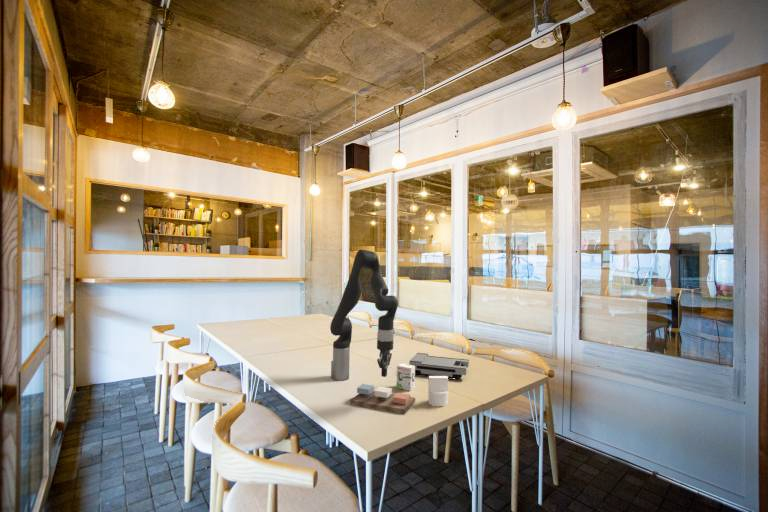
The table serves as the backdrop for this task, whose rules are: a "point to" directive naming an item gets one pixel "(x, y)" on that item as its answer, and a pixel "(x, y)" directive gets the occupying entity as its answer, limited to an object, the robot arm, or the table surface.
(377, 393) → the off-white key
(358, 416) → the table surface
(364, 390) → the slate-blue key
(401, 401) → the rust key
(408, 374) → the ink box
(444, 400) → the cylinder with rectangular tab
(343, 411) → the table surface
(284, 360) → the table surface
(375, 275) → the robot arm
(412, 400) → the key panel
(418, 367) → the game console
